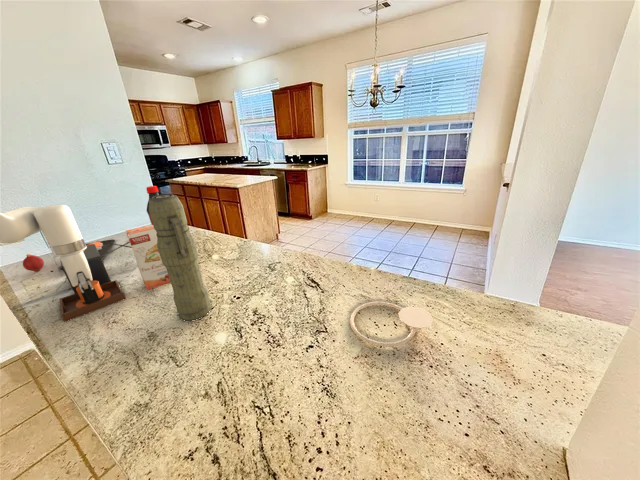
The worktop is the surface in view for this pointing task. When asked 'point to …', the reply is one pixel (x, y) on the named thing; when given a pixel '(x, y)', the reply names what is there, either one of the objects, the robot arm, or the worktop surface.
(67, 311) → the tray
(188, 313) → the thermos
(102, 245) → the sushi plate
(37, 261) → the onion
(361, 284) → the worktop surface
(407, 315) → the hand towel holder
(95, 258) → the charcoal grey box
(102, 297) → the hat
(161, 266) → the cracker box
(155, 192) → the cola bottle
